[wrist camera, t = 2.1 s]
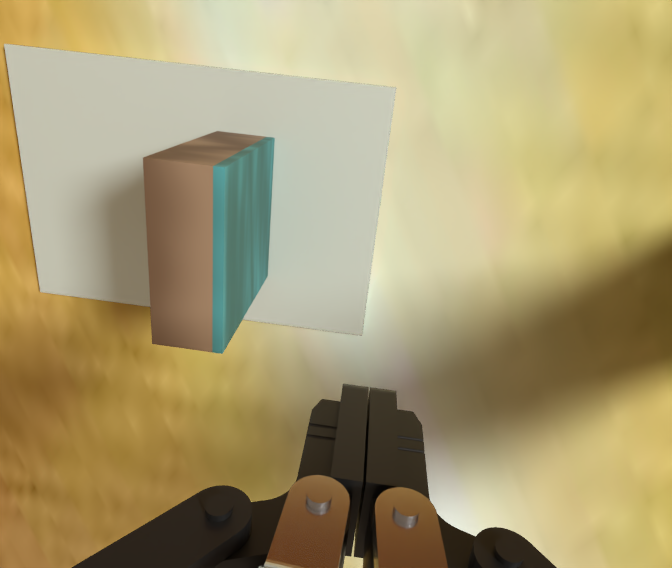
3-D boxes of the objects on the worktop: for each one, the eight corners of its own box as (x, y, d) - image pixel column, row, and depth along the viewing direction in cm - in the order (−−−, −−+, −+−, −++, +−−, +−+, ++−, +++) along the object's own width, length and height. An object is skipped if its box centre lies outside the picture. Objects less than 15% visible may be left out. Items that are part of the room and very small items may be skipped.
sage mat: (396, 87, 29) (396, 87, 28) (362, 332, 35) (361, 335, 35) (9, 44, 30) (3, 43, 29) (44, 289, 36) (40, 291, 36)
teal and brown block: (274, 137, 30) (224, 167, 21) (267, 276, 34) (222, 353, 24) (217, 131, 30) (142, 157, 21) (216, 269, 34) (152, 343, 25)
